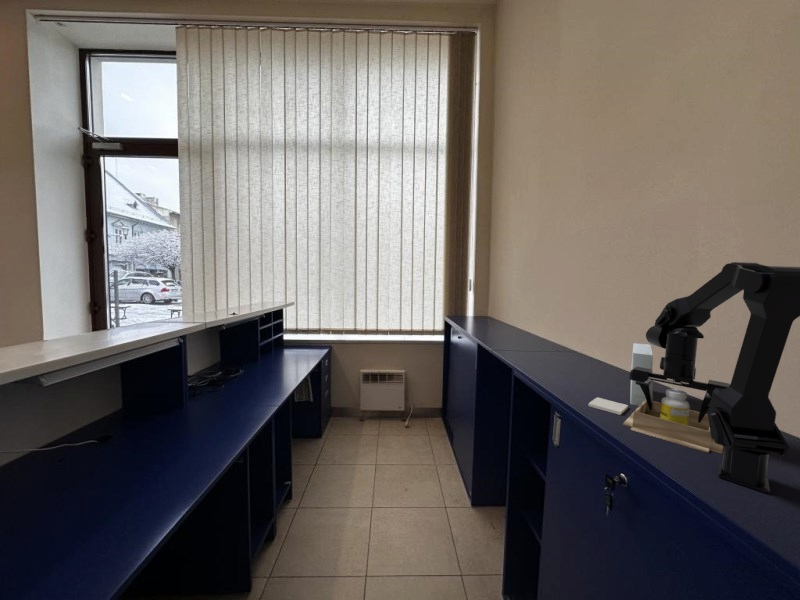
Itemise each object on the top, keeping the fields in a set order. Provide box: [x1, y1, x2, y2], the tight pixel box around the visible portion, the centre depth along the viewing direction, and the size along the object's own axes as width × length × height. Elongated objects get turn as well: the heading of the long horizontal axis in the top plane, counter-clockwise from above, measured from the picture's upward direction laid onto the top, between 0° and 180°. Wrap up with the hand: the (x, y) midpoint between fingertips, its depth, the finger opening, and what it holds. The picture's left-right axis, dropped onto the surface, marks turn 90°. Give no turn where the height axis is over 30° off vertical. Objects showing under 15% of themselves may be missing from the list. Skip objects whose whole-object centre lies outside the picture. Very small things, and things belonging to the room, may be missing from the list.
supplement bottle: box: [660, 388, 691, 425], centre depth 81 cm, size 5×5×10 cm
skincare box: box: [629, 342, 654, 407], centre depth 105 cm, size 21×6×16 cm, turn 144°
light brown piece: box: [622, 399, 724, 455], centre depth 81 cm, size 18×18×4 cm
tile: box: [587, 396, 629, 416], centre depth 95 cm, size 8×8×1 cm
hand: (674, 415), depth 81 cm, fingers open, 9 cm apart
